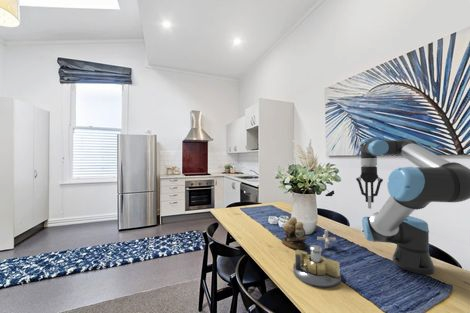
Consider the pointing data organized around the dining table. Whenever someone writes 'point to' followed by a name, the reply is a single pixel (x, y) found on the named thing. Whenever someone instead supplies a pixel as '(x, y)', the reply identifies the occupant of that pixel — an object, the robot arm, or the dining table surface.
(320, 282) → the spigot plate
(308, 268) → the beige segmented block
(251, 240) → the dining table surface
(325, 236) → the pipe connector
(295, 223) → the owl figurine
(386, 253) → the dining table surface
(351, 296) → the dining table surface
